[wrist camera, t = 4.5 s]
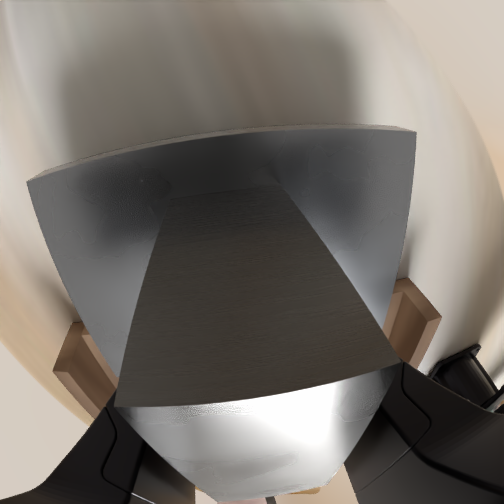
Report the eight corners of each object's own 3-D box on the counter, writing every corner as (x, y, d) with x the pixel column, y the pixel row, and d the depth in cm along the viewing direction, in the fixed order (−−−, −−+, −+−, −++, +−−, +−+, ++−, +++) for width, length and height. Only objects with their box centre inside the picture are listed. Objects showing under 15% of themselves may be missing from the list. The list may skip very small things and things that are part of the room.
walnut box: (408, 277, 15) (441, 316, 12) (369, 388, 20) (384, 422, 17) (72, 322, 13) (52, 371, 10) (140, 421, 19) (137, 458, 16)
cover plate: (395, 126, 8) (584, 210, 2) (368, 322, 13) (436, 447, 7) (44, 170, 7) (-113, 305, 1) (121, 357, 12) (100, 500, 6)
